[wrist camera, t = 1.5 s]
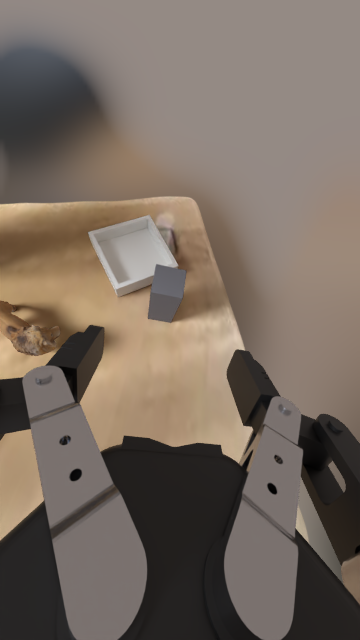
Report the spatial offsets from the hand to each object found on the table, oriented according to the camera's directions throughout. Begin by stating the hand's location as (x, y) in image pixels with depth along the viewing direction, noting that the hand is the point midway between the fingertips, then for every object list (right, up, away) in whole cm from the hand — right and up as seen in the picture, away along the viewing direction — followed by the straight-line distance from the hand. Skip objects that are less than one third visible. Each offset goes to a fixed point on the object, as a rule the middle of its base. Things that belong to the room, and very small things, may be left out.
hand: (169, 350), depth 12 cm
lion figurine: (-24, 0, +22) cm, 32 cm away
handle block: (-3, +4, +27) cm, 27 cm away
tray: (-9, +14, +29) cm, 33 cm away
